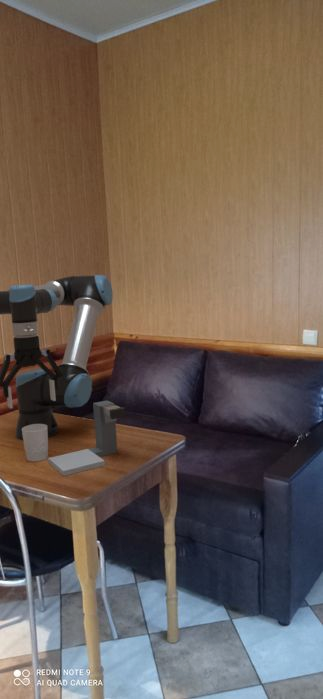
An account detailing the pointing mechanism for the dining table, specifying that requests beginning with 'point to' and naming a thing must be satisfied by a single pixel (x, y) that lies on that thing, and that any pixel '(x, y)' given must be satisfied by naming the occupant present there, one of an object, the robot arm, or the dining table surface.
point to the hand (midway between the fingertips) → (32, 403)
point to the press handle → (112, 413)
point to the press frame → (91, 456)
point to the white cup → (35, 442)
